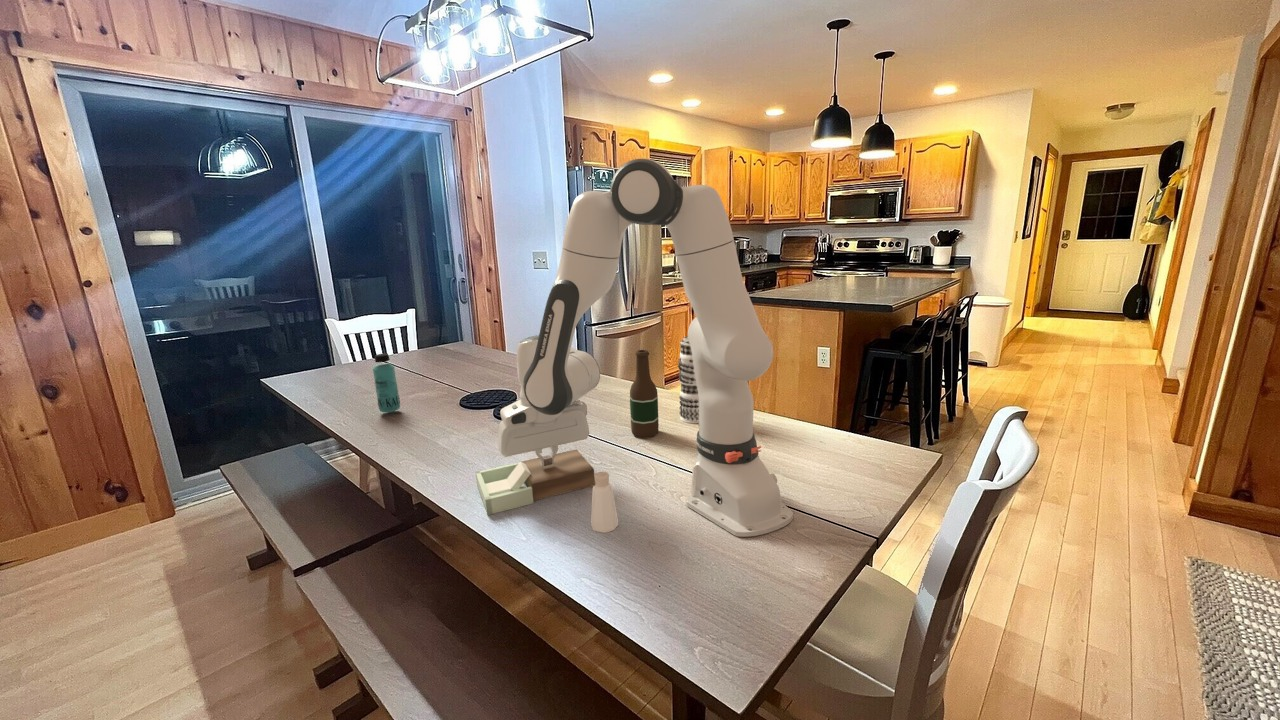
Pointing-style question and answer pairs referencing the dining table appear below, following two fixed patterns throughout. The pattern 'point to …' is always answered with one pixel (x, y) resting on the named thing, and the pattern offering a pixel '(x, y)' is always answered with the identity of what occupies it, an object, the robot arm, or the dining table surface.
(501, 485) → the tile
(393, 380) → the beverage bottle
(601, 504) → the salt shaker
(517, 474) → the tile
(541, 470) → the wooden tile base
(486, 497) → the tray
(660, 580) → the dining table surface
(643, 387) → the beer bottle
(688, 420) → the decorative candle
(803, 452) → the dining table surface
